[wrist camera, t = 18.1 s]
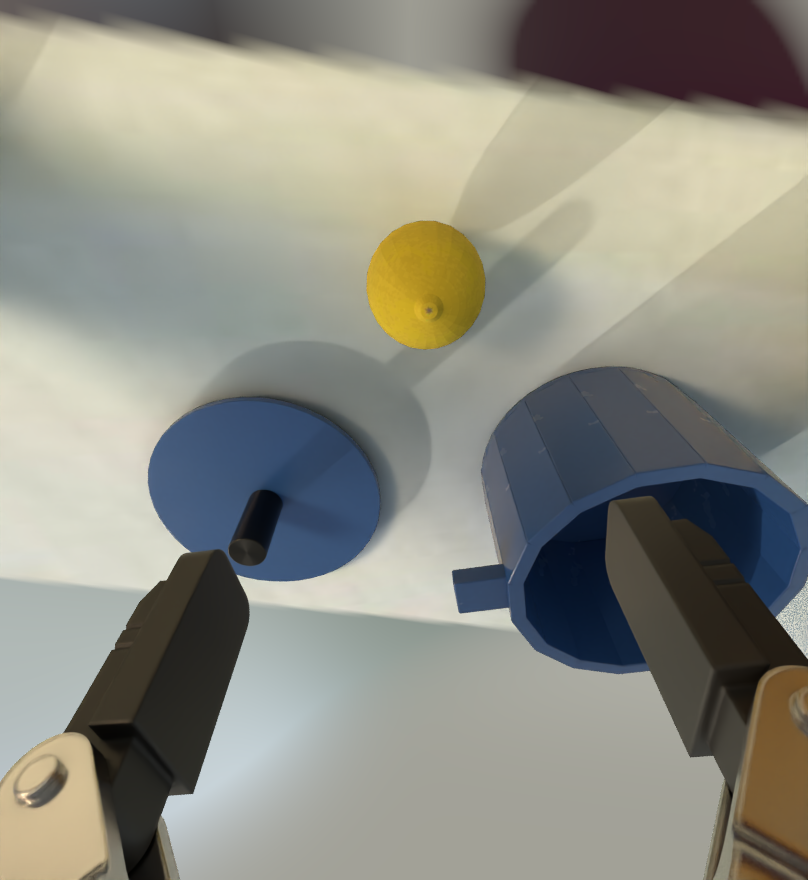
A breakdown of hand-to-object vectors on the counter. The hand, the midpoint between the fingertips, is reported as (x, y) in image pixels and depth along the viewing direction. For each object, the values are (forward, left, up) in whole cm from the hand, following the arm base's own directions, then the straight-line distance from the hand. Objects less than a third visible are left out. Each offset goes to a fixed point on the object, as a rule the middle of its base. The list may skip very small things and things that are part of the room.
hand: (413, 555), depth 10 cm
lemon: (-1, +1, -20) cm, 20 cm away
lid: (+12, -12, -19) cm, 26 cm away
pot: (+14, +10, -20) cm, 26 cm away
